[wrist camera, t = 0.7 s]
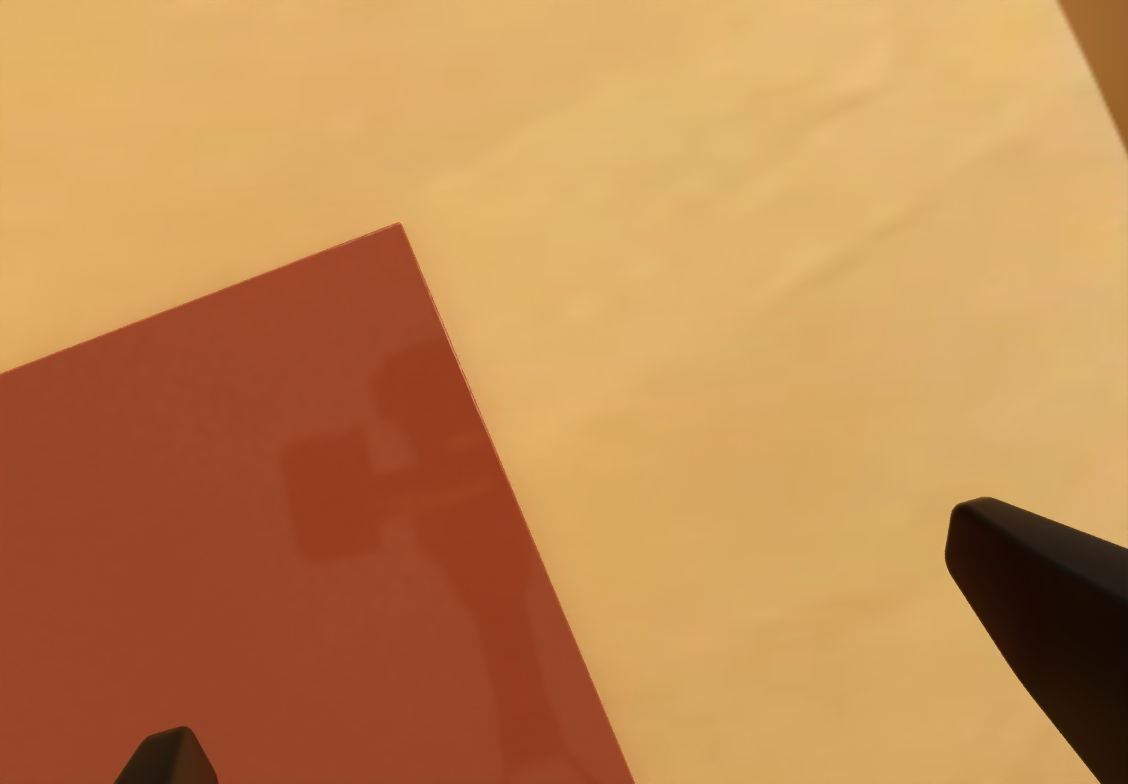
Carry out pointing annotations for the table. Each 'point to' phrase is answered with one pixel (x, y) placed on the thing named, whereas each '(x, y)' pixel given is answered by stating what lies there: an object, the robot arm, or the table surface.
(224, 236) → the table surface
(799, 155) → the table surface
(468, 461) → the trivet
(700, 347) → the table surface
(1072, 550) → the robot arm
